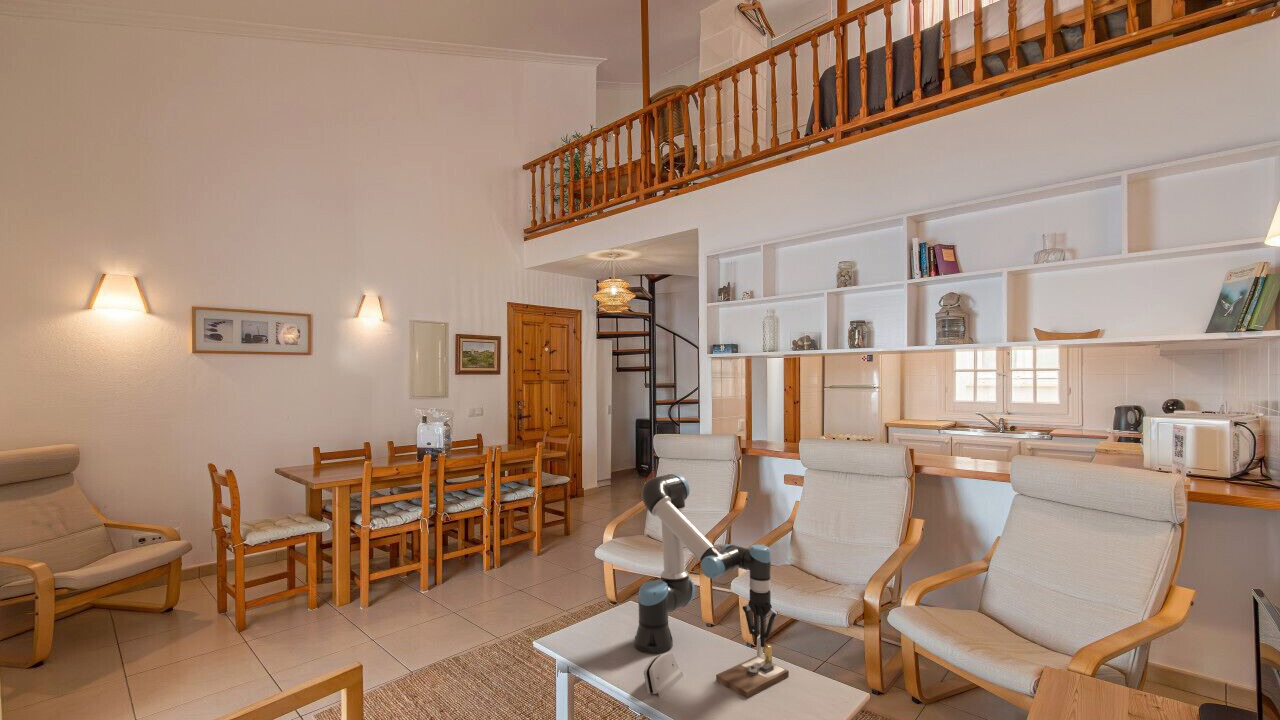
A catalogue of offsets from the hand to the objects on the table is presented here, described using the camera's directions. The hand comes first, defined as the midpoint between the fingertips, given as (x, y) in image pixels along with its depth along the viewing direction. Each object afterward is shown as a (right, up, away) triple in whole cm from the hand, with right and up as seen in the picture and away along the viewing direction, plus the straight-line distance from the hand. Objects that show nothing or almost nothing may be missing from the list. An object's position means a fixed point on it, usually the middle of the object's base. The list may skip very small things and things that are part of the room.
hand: (759, 654), depth 209 cm
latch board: (-4, -4, -8) cm, 10 cm away
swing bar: (-1, -2, -5) cm, 5 cm away
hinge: (-36, -5, -11) cm, 38 cm away
